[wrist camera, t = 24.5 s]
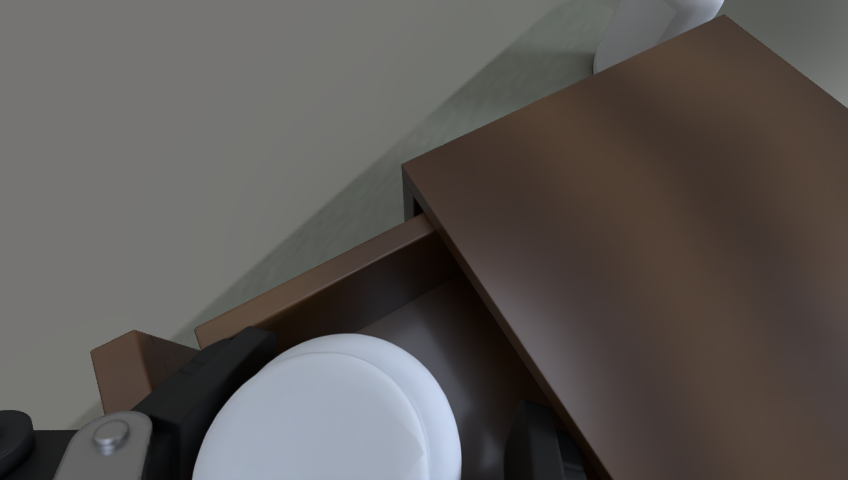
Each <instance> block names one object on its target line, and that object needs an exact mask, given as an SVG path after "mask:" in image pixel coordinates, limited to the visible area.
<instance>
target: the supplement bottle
mask: <svg viewBox="0 0 848 480" xmlns="http://www.w3.org/2000/svg"><path fill="white" fill-rule="evenodd" d="M461 462H462V458H461V446H460V440H459V434H458V429H457V425H456V422H455V419H454V415H453V413H452V410H451V408H450V405H449V403H448V400H447V398H446V396H445V394H444V392H443V391H442V389H441V387H440V386H439V384H438V383H437V381H436V380H435V378H434V377H433V376H432V375H431V373H430V372H429V371H428V370H427V369H426V368H425V367H424V366H423V365H422V364H421V363H420V362H419V361H418V360H417V359H416V358H415V357H413V356H412V355H411V354H409V353H408V352H406V351H405V350H403V349H401V348H400V347H398V346H396V345H394V344H392V343H390V342H387V341H385V340H382V339H379V338H376V337H372V336H367V335H361V334H334V335H327V336H322V337H318V338H314V339H311V340H308V341H306V342H303V343H301V344H299V345H296V346H294V347H292V348H291V349H289V350H287V351H285V352H283V353H282V354H280V355H279V356H277V357H276V358H275V359H273V360H272V361H271V362H269V363H268V364H267V365H266V366H265V367H264V368H262V369H261V370H260V371H259V372H258V373H257V374H256V375H255V376H253V377H252V378H251V379H249V380H248V381H247V382H246V383H244V384H243V385H242V386H241V387H240V388H239V389H238V390H237V391H236V392H235V393H234V394H233V395H232V396H231V398H230V399H229V400H228V401H227V402H226V404H225V405H224V406H223V408H222V409H221V410H220V412H219V413H218V414H217V416H216V417H215V419H214V421H213V423H212V424H211V426H210V428H209V430H208V432H207V433H206V436H205V438H204V440H203V443H202V445H201V448H200V451H199V454H198V457H197V460H196V463H195V467H194V472H193V477H192V480H461Z"/></svg>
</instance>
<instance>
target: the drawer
mask: <svg viewBox="0 0 848 480" xmlns="http://www.w3.org/2000/svg"><path fill="white" fill-rule="evenodd" d="M248 326H253V327H257V328H260V329H264V330H268V331H271V332H274V333H275V335H276V347H275V358H276V357H277V356H279V355H280V354H282V353H283V352H285V351H287V350H289V349H291V348H292V347H294V346H296V345H299V344H301V343H303V342H306V341H308V340H311V339H314V338H318V337H322V336H327V335H334V334H361V335H367V336H372V337H376V338H379V339H382V340H385V341H387V342H390V343H392V344H394V345H396V346H398V347H400V348H401V349H403V350H405V351H406V352H408V353H409V354H411V355H412V356H413V357H415V358H416V359H417V360H418V361H419V362H420V363H421V364H422V365H423V366H424V367H425V368H426V369H427V370H428V371H429V372H430V373H431V375H432V376H433V377H434V378H435V380H436V381H437V383H438V384H439V386H440V387H441V389H442V391H443V392H444V394H445V396H446V398H447V400H448V403H449V405H450V408H451V410H452V413H453V415H454V419H455V422H456V425H457V429H458V434H459V440H460V446H461V458H462V462H461V480H504V452H505V446H506V442H507V439H508V436H509V433H510V430H511V427H512V424H513V422H514V419H515V416H516V413H517V410H518V407H519V405H520V402H521V401H522V400H523V399H524V400H528V401H532V402H536V403H539V404H543V405H547V406H550V407H551V409H552V414H553V419H554V424H555V428H556V429H559V430H563V431H567V432H568V433H569V435H570V437H571V438H572V440H573V441H574V443H575V444H576V446H577V447H578V449H579V451H580V455H581V459H582V463H583V467H584V472H585V474H586V478H587V480H601V479H600V477H599V476H598V474H597V473H596V471H595V470H594V468H593V467H592V465H591V464H590V462H589V461H588V459H587V458H586V456H585V455H584V453H583V452H582V450H581V449H580V447H579V446H578V444H577V443H576V441H575V440H574V438H573V436H572V435H571V433H570V432H569V430H568V429H567V427H566V426H565V424H564V423H563V421H562V420H561V418H560V417H559V415H558V414H557V412H556V411H555V409H554V408H553V406H552V405H551V403H550V402H549V400H548V399H547V397H546V396H545V394H544V393H543V391H542V390H541V388H540V386H539V385H538V383H537V382H536V380H535V379H534V377H533V376H532V374H531V373H530V371H529V370H528V368H527V367H526V365H525V364H524V362H523V361H522V359H521V358H520V356H519V355H518V353H517V352H516V350H515V349H514V347H513V346H512V344H511V343H510V341H509V340H508V338H507V336H506V335H505V333H504V332H503V330H502V329H501V327H500V326H499V324H498V323H497V321H496V320H495V318H494V317H493V315H492V314H491V312H490V311H489V309H488V308H487V306H486V305H485V303H484V302H483V300H482V299H481V297H480V296H479V294H478V293H477V291H476V289H475V288H474V286H473V285H472V283H471V282H470V280H469V279H468V277H467V276H466V274H465V273H464V271H463V270H462V268H461V267H460V265H459V264H458V262H457V261H456V259H455V258H454V256H453V255H452V253H451V252H450V250H449V249H448V247H447V246H446V244H445V243H444V241H443V239H442V238H441V236H440V235H439V233H438V232H437V230H436V229H435V227H434V226H433V224H432V223H431V221H430V220H429V218H428V217H427V215H426V214H425V212H424V213H422V214H420V215H418V216H416V217H414V218H412V219H410V220H408V221H406V222H404V223H402V224H400V225H398V226H396V227H394V228H392V229H390V230H388V231H386V232H384V233H382V234H380V235H378V236H376V237H374V238H372V239H370V240H368V241H366V242H364V243H362V244H360V245H358V246H357V247H355V248H353V249H351V250H349V251H347V252H345V253H343V254H341V255H339V256H337V257H335V258H333V259H331V260H329V261H327V262H325V263H323V264H321V265H319V266H317V267H315V268H313V269H311V270H309V271H307V272H305V273H303V274H301V275H299V276H297V277H295V278H293V279H291V280H289V281H287V282H285V283H283V284H281V285H279V286H277V287H275V288H273V289H271V290H269V291H267V292H265V293H264V294H262V295H260V296H258V297H256V298H254V299H252V300H250V301H248V302H246V303H244V304H242V305H240V306H238V307H236V308H234V309H232V310H230V311H228V312H226V313H224V314H222V315H220V316H218V317H216V318H214V319H212V320H210V321H208V322H206V323H204V324H202V325H200V326H198V327H196V328H195V329H194V331H195V334H196V337H197V340H198V343H199V346H200V349H201V350H203V349H204V348H205V347H206V346H208V345H211V344H213V343H215V342H217V341H220V340H222V339H224V338H227V339H231V340H232V339H233V338H234V337H236V336H237V335H238V334H239V333H240V332H241V331H242V330H243V329H245V328H246V327H248ZM199 352H200V350H197V349H194V348H190V347H187V346H184V345H181V344H178V343H175V342H171V341H168V340H165V339H162V338H159V337H155V336H152V335H149V334H146V333H143V332H140V331H137V330H133V331H130V332H128V333H126V334H124V335H122V336H120V337H118V338H116V339H114V340H112V341H110V342H108V343H106V344H104V345H102V346H100V347H97V348H95V349H93V350H92V351H91V352H90V353H91V358H92V362H93V366H94V371H95V375H96V379H97V384H98V388H99V392H100V396H101V401H102V405H103V409H104V414H105V415H107V414H110V413H114V412H120V411H130V410H131V409H132V408H133V407H134V406H136V405H137V404H138V403H139V402H140V401H142V400H143V399H144V398H145V397H146V396H148V395H149V394H150V393H151V392H152V391H154V390H155V389H156V388H157V387H158V386H160V385H161V384H162V383H163V382H164V381H166V380H167V379H168V378H169V377H170V376H172V375H173V374H174V373H175V372H176V371H179V370H180V368H181V367H182V366H183V365H185V364H186V363H187V362H188V361H191V360H192V358H193V357H194V356H195V355H197V354H198V353H199Z"/></svg>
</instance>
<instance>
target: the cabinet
mask: <svg viewBox="0 0 848 480" xmlns="http://www.w3.org/2000/svg"><path fill="white" fill-rule="evenodd" d="M401 166H402V179H403V199H404V217H405V222H406V221H408V220H410V219H412V218H414V217H416V216H418V215H420V214H422V213H424V212H425V214H426V215H427V217H428V218H429V220H430V221H431V223H432V224H433V226H434V227H435V229H436V230H437V232H438V233H439V235H440V236H441V238H442V239H443V241H444V243H445V244H446V246H447V247H448V249H449V250H450V252H451V253H452V255H453V256H454V258H455V259H456V261H457V262H458V264H459V265H460V267H461V268H462V270H463V271H464V273H465V274H466V276H467V277H468V279H469V280H470V282H471V283H472V285H473V286H474V288H475V289H476V291H477V293H478V294H479V296H480V297H481V299H482V300H483V302H484V303H485V305H486V306H487V308H488V309H489V311H490V312H491V314H492V315H493V317H494V318H495V320H496V321H497V323H498V324H499V326H500V327H501V329H502V330H503V332H504V333H505V335H506V336H507V338H508V340H509V341H510V343H511V344H512V346H513V347H514V349H515V350H516V352H517V353H518V355H519V356H520V358H521V359H522V361H523V362H524V364H525V365H526V367H527V368H528V370H529V371H530V373H531V374H532V376H533V377H534V379H535V380H536V382H537V383H538V385H539V386H540V388H541V390H542V391H543V393H544V394H545V396H546V397H547V399H548V400H549V402H550V403H551V405H552V406H553V408H554V409H555V411H556V412H557V414H558V415H559V417H560V418H561V420H562V421H563V423H564V424H565V426H566V427H567V429H568V430H569V432H570V433H571V435H572V436H573V438H574V440H575V441H576V443H577V444H578V446H579V447H580V449H581V450H582V452H583V453H584V455H585V456H586V458H587V459H588V461H589V462H590V464H591V465H592V467H593V468H594V470H595V471H596V473H597V474H598V476H599V477H600V479H601V480H848V108H846V107H845V106H844V105H842V104H841V103H840V102H838V101H837V100H836V99H835V98H833V97H832V96H831V95H829V94H828V93H827V92H825V91H824V90H823V89H822V88H820V87H819V86H818V85H816V84H815V83H814V82H812V81H811V80H810V79H808V78H807V77H806V76H804V75H803V74H802V73H800V72H799V71H798V70H797V69H795V68H794V67H793V66H791V65H790V64H789V63H787V62H786V61H785V60H784V59H782V58H781V57H780V56H778V55H777V54H776V53H774V52H773V51H772V50H770V49H769V48H768V47H766V46H765V45H764V44H763V43H761V42H760V41H759V40H757V39H756V38H755V37H753V36H752V35H751V34H749V33H748V32H747V31H745V30H744V29H743V28H742V27H740V26H739V25H738V24H736V23H735V22H734V21H732V20H731V19H730V18H729V17H727V16H726V15H724V14H723V15H720V16H718V17H716V18H714V19H712V20H710V21H708V22H705V23H703V24H701V25H699V26H697V27H695V28H693V29H690V30H688V31H686V32H684V33H682V34H680V35H678V36H675V37H673V38H671V39H669V40H667V41H665V42H663V43H660V44H658V45H656V46H654V47H652V48H650V49H648V50H645V51H643V52H641V53H639V54H637V55H635V56H633V57H630V58H628V59H626V60H624V61H622V62H620V63H618V64H615V65H613V66H611V67H609V68H607V69H605V70H603V71H600V72H598V73H596V74H594V75H592V76H590V77H588V78H585V79H583V80H581V81H579V82H577V83H575V84H573V85H570V86H568V87H566V88H564V89H562V90H560V91H558V92H555V93H553V94H551V95H549V96H547V97H545V98H543V99H540V100H538V101H536V102H534V103H532V104H530V105H528V106H525V107H523V108H521V109H519V110H517V111H515V112H512V113H510V114H508V115H506V116H504V117H502V118H500V119H497V120H495V121H493V122H491V123H489V124H487V125H485V126H482V127H480V128H478V129H476V130H474V131H472V132H470V133H467V134H465V135H463V136H461V137H459V138H457V139H455V140H452V141H450V142H448V143H446V144H444V145H442V146H440V147H437V148H435V149H433V150H431V151H429V152H427V153H425V154H422V155H420V156H418V157H416V158H414V159H412V160H410V161H407V162H405V163H403V164H402V165H401Z"/></svg>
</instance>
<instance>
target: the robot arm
mask: <svg viewBox="0 0 848 480" xmlns="http://www.w3.org/2000/svg"><path fill="white" fill-rule="evenodd" d="M275 347H276V335H275V333H274V332H271V331H268V330H264V329H260V328H257V327H253V326H248V327H246V328H245V329H243V330H242V331H241V332H240V333H239V334H238V335H237V336H236V337H234V338H233V339H232V340H231V339H227V338H224V339H222V340H220V341H217V342H215V343H213V344H211V345H208V346H206V347H205V348H204V349H203V350H201V351H200V352H199V353H198V354H197V355H195V356H194V357H193V358H192V360H191V361H188V362H187V363H186V364H185V365H183V366H182V367H181V368H180V370H179V371H176V372H175V373H174V374H173V375H172V376H170V377H169V378H168V379H167V380H166V381H164V382H163V383H162V384H161V385H160V386H158V387H157V388H156V389H155V390H154V391H152V392H151V393H150V394H149V395H148V396H146V397H145V398H144V399H143V400H142V401H140V402H139V403H138V404H137V405H136V406H134V407H133V408H132V409H131V410H130V411H120V412H114V413H110V414H107V415H104V416H102V417H99V418H97V419H95V420H93V421H91V422H90V423H88V424H86V425H85V426H84V427H82V428H81V429H80V430H33V425H32V421H31V418H30V417H29V416H28V415H27V414H25V413H24V412H20V411H16V410H3V411H0V480H192V477H193V472H194V467H195V463H196V460H197V457H198V454H199V451H200V448H201V445H202V443H203V440H204V438H205V436H206V433H207V432H208V430H209V428H210V426H211V424H212V423H213V421H214V419H215V417H216V416H217V414H218V413H219V412H220V410H221V409H222V408H223V406H224V405H225V404H226V402H227V401H228V400H229V399H230V398H231V396H232V395H233V394H234V393H235V392H236V391H237V390H238V389H239V388H240V387H241V386H242V385H243V384H244V383H246V382H247V381H248V380H249V379H251V378H252V377H253V376H255V375H256V374H257V373H258V372H259V371H260V370H261V369H262V368H264V367H265V366H266V365H267V364H268V363H269V362H271V361H272V360H273V359H275ZM504 480H587V478H586V474H585V472H584V467H583V463H582V459H581V455H580V451H579V449H578V447H577V446H576V444H575V443H574V441H573V440H572V438H571V437H570V435H569V433H568V432H567V431H563V430H559V429H556V428H555V424H554V419H553V414H552V409H551V407H550V406H547V405H543V404H539V403H536V402H532V401H528V400H524V399H523V400H522V401H521V402H520V405H519V407H518V410H517V413H516V416H515V419H514V422H513V424H512V427H511V430H510V433H509V436H508V439H507V442H506V446H505V452H504Z"/></svg>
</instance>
